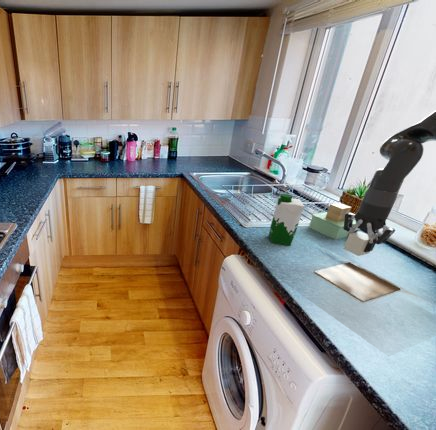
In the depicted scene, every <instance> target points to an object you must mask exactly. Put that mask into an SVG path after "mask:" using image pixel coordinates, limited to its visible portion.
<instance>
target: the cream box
mask: <svg viewBox="0 0 436 430" xmlns="http://www.w3.org/2000/svg"><path fill="white" fill-rule="evenodd" d="M346 238H347V237H346ZM368 242H369V236H368V233H365V232H363V231H361V230H359V231H358V232H355V233H350V234H349V236H348V238H347V241H346V240H345V243H344V246H343V250H345V251H348V252H349V253H351V254H354V255H355V256H357V257H360V256H364V255H368V254H370V252H371V251H370V252H367V253H366V252H364V249H365V247H366V245H367V243H368Z"/></svg>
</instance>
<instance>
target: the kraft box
mask: <svg viewBox="0 0 436 430" xmlns="http://www.w3.org/2000/svg"><path fill="white" fill-rule="evenodd" d="M351 209H352V206H349V205H348V204H344V203H341V202H336V203H330V204H329V207H328V210H327V211H326V212H327V215H326V217H327V218H329V219H332V220H334V221H337V222H339V221H344V220H345V214H347V213H351Z"/></svg>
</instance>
